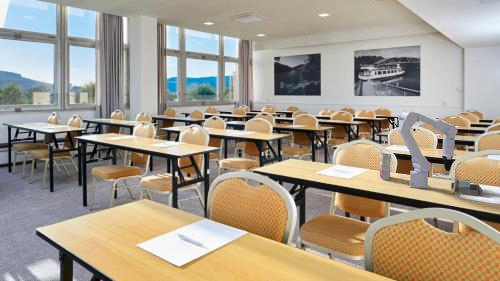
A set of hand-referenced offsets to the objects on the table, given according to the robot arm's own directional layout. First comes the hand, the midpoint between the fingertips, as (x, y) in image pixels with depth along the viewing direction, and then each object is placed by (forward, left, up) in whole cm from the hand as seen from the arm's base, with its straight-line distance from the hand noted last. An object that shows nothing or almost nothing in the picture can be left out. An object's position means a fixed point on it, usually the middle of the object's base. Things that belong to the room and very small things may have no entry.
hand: (447, 169), depth 212 cm
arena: (+8, -11, -9) cm, 17 cm away
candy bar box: (-34, +8, -10) cm, 36 cm away
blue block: (+6, -12, -9) cm, 16 cm away
